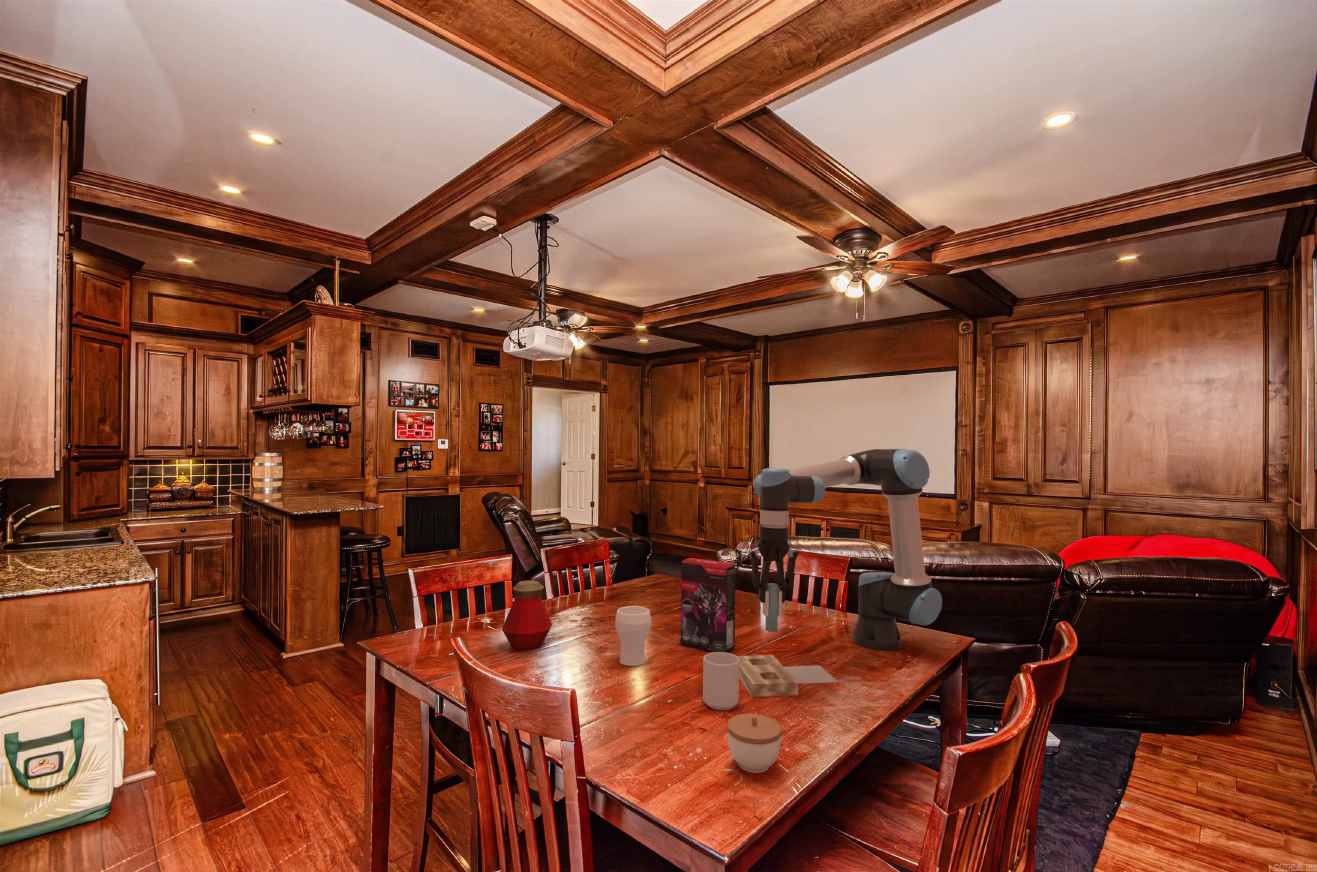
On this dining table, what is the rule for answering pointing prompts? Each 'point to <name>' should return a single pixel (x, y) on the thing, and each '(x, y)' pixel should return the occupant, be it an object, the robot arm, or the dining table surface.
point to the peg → (772, 608)
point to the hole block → (766, 676)
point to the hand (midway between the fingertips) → (771, 614)
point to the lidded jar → (754, 741)
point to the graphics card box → (708, 605)
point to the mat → (810, 674)
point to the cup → (633, 633)
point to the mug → (721, 680)
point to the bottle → (527, 617)
